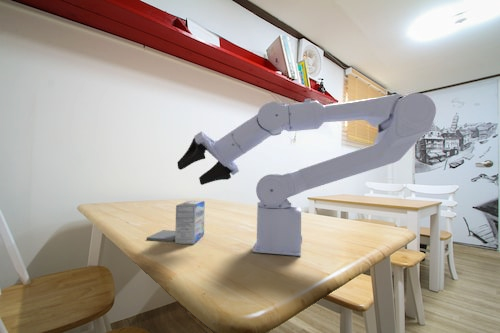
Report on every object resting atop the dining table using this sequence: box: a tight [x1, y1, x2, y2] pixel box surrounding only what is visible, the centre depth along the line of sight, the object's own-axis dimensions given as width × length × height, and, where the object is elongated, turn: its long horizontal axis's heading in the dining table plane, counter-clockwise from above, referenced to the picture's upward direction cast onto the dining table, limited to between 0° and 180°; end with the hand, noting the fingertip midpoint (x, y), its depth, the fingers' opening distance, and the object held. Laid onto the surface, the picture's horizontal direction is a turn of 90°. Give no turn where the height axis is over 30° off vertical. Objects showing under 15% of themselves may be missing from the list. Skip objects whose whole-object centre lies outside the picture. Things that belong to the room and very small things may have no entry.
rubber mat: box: [146, 229, 176, 243], centre depth 55 cm, size 6×7×1 cm
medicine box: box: [174, 200, 206, 245], centre depth 53 cm, size 8×4×9 cm, turn 176°
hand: (190, 174), depth 53 cm, fingers open, 7 cm apart
